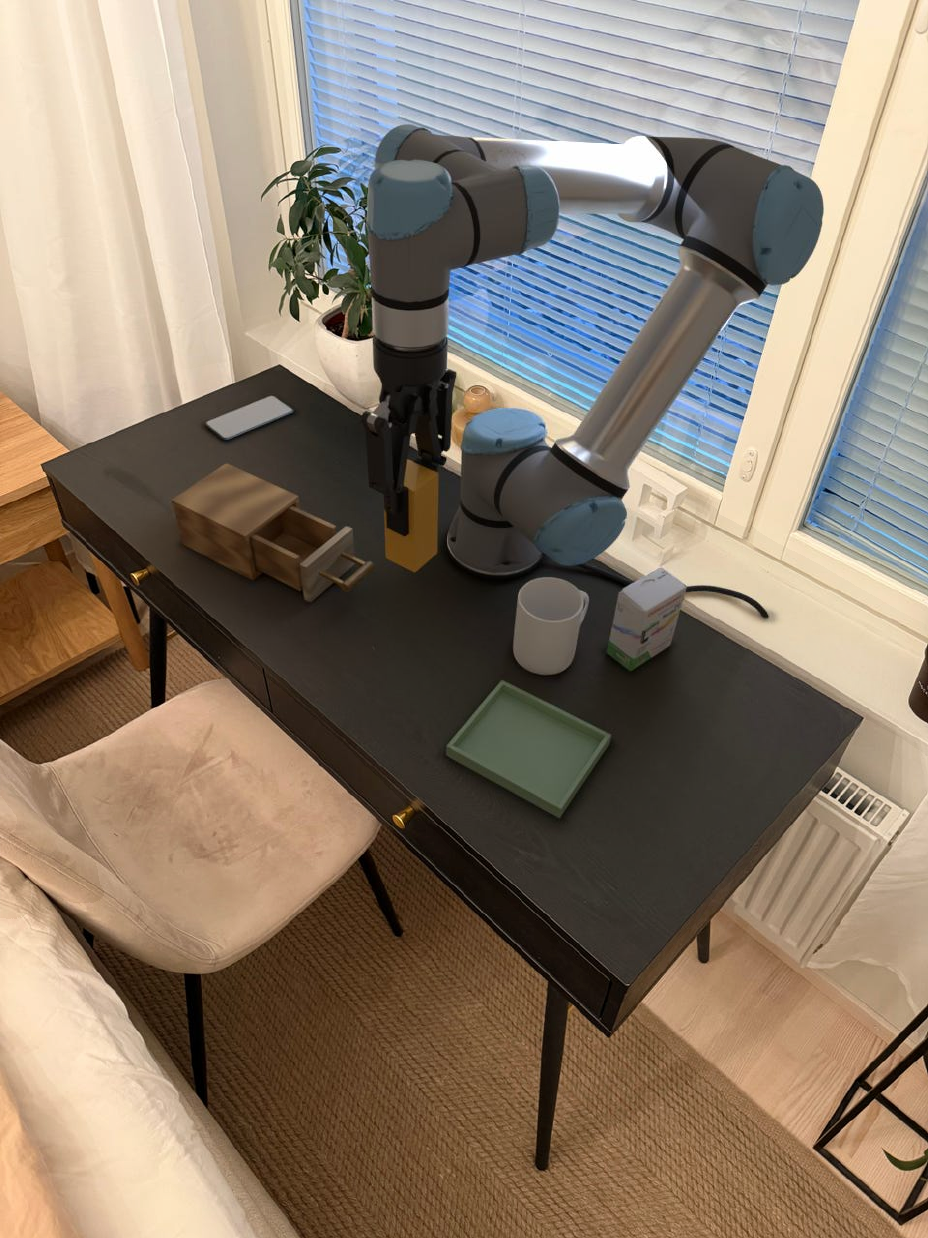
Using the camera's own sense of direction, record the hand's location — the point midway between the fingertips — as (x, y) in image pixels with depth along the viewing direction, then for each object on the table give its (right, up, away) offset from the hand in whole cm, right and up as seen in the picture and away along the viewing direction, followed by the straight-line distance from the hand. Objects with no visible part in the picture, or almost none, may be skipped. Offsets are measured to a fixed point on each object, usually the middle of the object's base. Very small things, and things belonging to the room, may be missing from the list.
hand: (411, 519), depth 105 cm
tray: (+14, -28, +7) cm, 33 cm away
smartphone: (-33, +25, +59) cm, 72 cm away
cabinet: (-28, 0, +34) cm, 44 cm away
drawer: (-17, -5, +28) cm, 33 cm away
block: (0, -4, +4) cm, 6 cm away
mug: (+19, -16, +20) cm, 32 cm away
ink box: (+31, -16, +21) cm, 40 cm away
